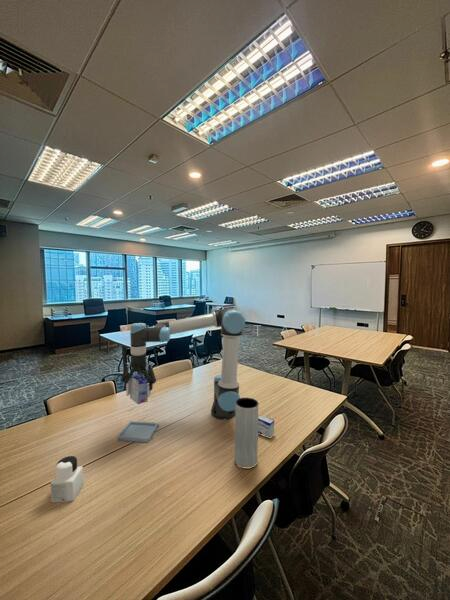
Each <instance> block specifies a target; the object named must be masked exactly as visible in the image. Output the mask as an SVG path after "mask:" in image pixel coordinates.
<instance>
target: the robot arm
mask: <svg viewBox="0 0 450 600" xmlns="http://www.w3.org/2000/svg"><path fill="white" fill-rule="evenodd" d="M242 313H243V312H241V311H240V310H237V309H236V308H232V307H225V308H221V309H218V310H213V311H212V312H211V313H206V314H200V315H195V316H191V317H185V318H181V319H176V320H170V321H165V322H164V321H160V322H158V323H156V324H155V325H154V327H153V326H152V327H150V326H149V327H147V323H144V322H138V323H137V322H135V323H132V324H131V325H130V333H129V334H130V335H129V336H130V362H126V363H125V364H124V369H123V374H122V376H121V379H120V382H122V383H124V389H125V390H126V393H125V394H126V397H129V396H130V378H131V376H132V375H134V373H137V372H138V373H139V372H142V374H143V375H142V374H141V375H142V376H144V377H145V378H147V380H148V385H147V397H148V398H150V397H151V395H152V390H153V388H154V387H153V386H154V385H153V384H156V382H157V379H156V376H155V371H154V369H153V363H147V353H146V352H147V343H165V342H167V343H168V342H169V341H170V340H171V335H175V334H180V333H185V332H190V331H195V330H196V331H197V330H201V329H206V328H211V327H214V328H221V329H220V336H222V339H223V342H222V355H221V356H222V358H221V373H220V374H218V375H215V376H214V377H213V378H214V379H213V382H214V383H213V384H214V385H213V403H212V406H211V409H210V415H211V416H212V417H213V418H214V419H217V420H224V419H226V420H230V418H231V419H233V418H234V417H235V404H236V401H237V400H238V399H240V398H241V396H240V383H239V382H238V367H239V365H238V364H239V363H238V362H239V348H240V338H241V337H242V336H243V332H244V331H243V330H244V328H245V326H246V318H245V316H244V315H243V314H242ZM130 367H131V370H130V372H129V369H130ZM128 372H129V373H128ZM232 417H233V418H232ZM224 421H225V420H224Z"/></svg>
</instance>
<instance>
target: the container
mask: <svg viewBox="0 0 450 600" xmlns="http://www.w3.org/2000/svg"><path fill="white" fill-rule="evenodd" d="M55 465H56V466H55V469H56V475H55V476H54V478H53V479H52V480H51V482H50V499H51V500H50V501H51V503H64V502H74V501H75V499H76V498H77V496H78V494H79V493H80V491H81V489H82V487H83V486H84V467H83V466H82V465H81V466H78V458H77V456H74V455H69V456H66V457H63V458H61V459H60V460H59V461H58V462H57V463H56V464H55Z"/></svg>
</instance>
